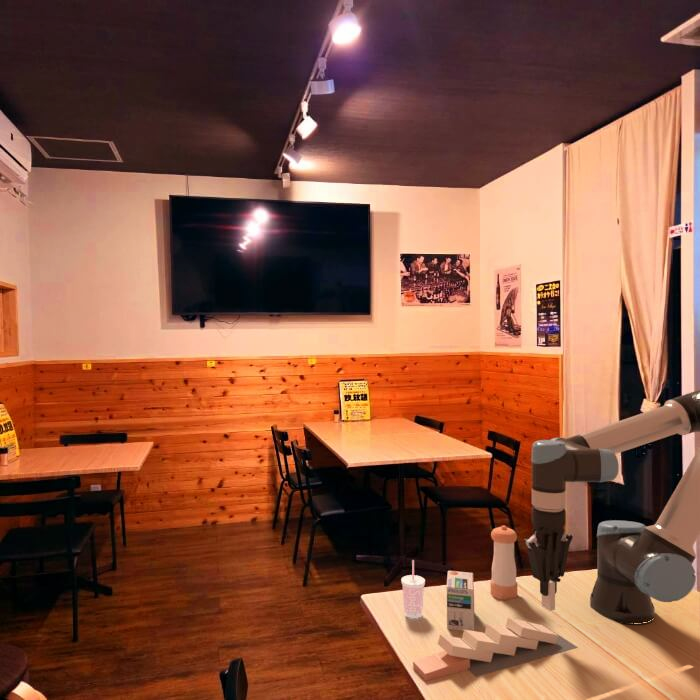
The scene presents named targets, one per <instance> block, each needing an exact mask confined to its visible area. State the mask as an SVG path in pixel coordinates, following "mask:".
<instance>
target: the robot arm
mask: <svg viewBox="0 0 700 700" xmlns="http://www.w3.org/2000/svg"><path fill="white" fill-rule="evenodd" d="M692 433H700V389H699V390H695V391H692V392H687V393H685V394H682V395H680V396H677V397H674V398H671V399H668V400H665V402H664V404H663V405H662V406H660V407H657V408H656V407H655V408H654V409H651V410H649V411H646V412H641V413H639V414H636V415H633V416H630V417H627V418H624V419H621V420H619V421H616V422H612V423H610V424H609V423H608V424H606V425H603V426H600V427H598V428H594V429H592V430H589V431H586V432H583V433H580V434H576V435H573V436H569V437H567V438H565V437H554V438H551V439H540V440H536V441H534V442H533V443H532V447H531V456H530V457H531V458H530V462H531V505H532V507H531V523H532V525H533V528H532V529H533V530H532V531H531V532H532V533H531V534H532V535H531V536H530V537H529V539H528V538H524V539H523V544H524V545H525V548H526V550H527V554H528V560H529V564H530V569H531V574H532V577H533V578H534V579H536V580H538V581H539V594H541V606H542V607H543V608H544V609H546V610H547V611H549V612H552V611H555V610H556V594H557V590H558V587H557V586H558V585H557V584H558V583H560V582H561V580H562V579H561V578H563V577H564V576H565V572H566V566H567V561H568V554H569V550H570V544H571V542H572V541H573V535H572V534H570V533H568V532H566V531H565V528H564V527H565V526H566V523H567V519H566V516H567V515H566V514H567V513H566V510H565V508H566V507H567V506H566V505H567V502H566V501H567V499H566V495H567V494H566V493H567V492H566V490H567V487H566V485H567V483H603V482H611V481H614V480H615V479H616V478H617V477H618V474H619V468H620V467H619V465H620V464H619V459H618V458H617V455H616V454H619V453H623V452H625V451H628V450H631V449H635V448H637V447H640V446H643V445H646V444H649V443H652V442H655V441H658V440H662V439H665V438H667V437H670V436H674V435H676V434H677V435H680V436H686V435H690V434H692ZM699 536H700V446H699V448H698V449H697V451H696V453H695V454H694V456H693V458H692V460H691V461H690V463H689V464H688V467H686V471H685V472H684V473H683V475H682V476H681V479H680V480H679V482H678V484H677V485H676V488H675V490H674V491H673V493H672V494H671V496H670V497H669V500H668V501H667V503H666V505H665V506H664V508H663V510H662V512H661V514H660V515H659V517H658V519H657V521H656V522H655V524H653V525H648V526H646V525H645V524H644V523H641V522H637V521H630V520H629V521H628V520H618V519H617V520H616V519H615V520H612V519H610V520H604V521H601V522H599V523H598V526H597V533H596V539H597V543H596V544H597V545H596V546H597V551H596V552H597V553H596V554H597V556H596V557H597V558H596V559H597V562H596V563H597V565H596V566H597V567H596V568H597V569H596V570H597V577H596V580H595V583H594V585H593V588H592V591H591V593H590V597H589V600H590V601H589V606H590V608H591V609H592V610H594V611H595V612H596V613H598V614H599V615H601V616H603V617H605V618H608V619H611V620H613V621H615V622H616V623H620V622H622V623H621V624H625V623H633V624H632V625H635V624H634V623H643V622H648V621H650V620H652V619H653V618H654V616H655V613H656V612H655V611H656V609H655V606H654V604H653V602H652V599H654V600H656V601H658V602H661V603H672V602H675V601H676V602H677V601H680V600H682V599H684V598H685V597H687V596H688V595H690V594H691V592H692V591H693V588H694V586H695V584H696V579H697V577H696V575H695V573H696V571H695V568H694V566H693V563H694V561H695V560H696V558H697V555H696V552H695V550H694V544H695V543H696V541H697V539H698V538H699ZM560 577H561V578H560ZM654 619H655V618H654Z"/></svg>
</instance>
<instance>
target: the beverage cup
mask: <svg viewBox="0 0 700 700" xmlns="http://www.w3.org/2000/svg"><path fill="white" fill-rule="evenodd" d="M411 565H412V567H411V568H412V570H411V573H412V574H409V575H405V576H402V577H401V579H400V580H401V581H400V582H401V585H402V599H403V600H402V601H403V613H404V614H405V615H404V617H406V616H407V617H410V618H418V617H421V616H423V605H424V604H423V603H424V590H425V589H424V588H425V584H426V579H425V578H424V577H422V576H420V575H417V574H416V575H415V560H414V559H412V560H411ZM407 617H406V618H407ZM410 618H409V619H410ZM421 618H422V617H421ZM418 619H419V618H418Z"/></svg>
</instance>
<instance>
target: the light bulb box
mask: <svg viewBox="0 0 700 700" xmlns="http://www.w3.org/2000/svg"><path fill="white" fill-rule="evenodd" d="M474 586H475V585H474V573H473V572H467V571H466V572H465V571H457V570H448V571H447V577H446V629H448V630H456V631H464V630H470V631H475V591H474V590H475V589H474Z"/></svg>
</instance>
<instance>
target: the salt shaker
mask: <svg viewBox="0 0 700 700" xmlns="http://www.w3.org/2000/svg"><path fill="white" fill-rule="evenodd" d="M490 538H491V540H492V541H493V558H492V563H491V579H490V595H491V596H492V597H494V598H495V599H498V600H501V601H508V600H513V599H516V598H518V582H517V566H516V561H515V542H516V541H517V538H518V535H517V533H516V530H514V529H512V528H510V527H508V526H506V525H501V526H499V527H495V528H493V529H492V531H491V533H490Z"/></svg>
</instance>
